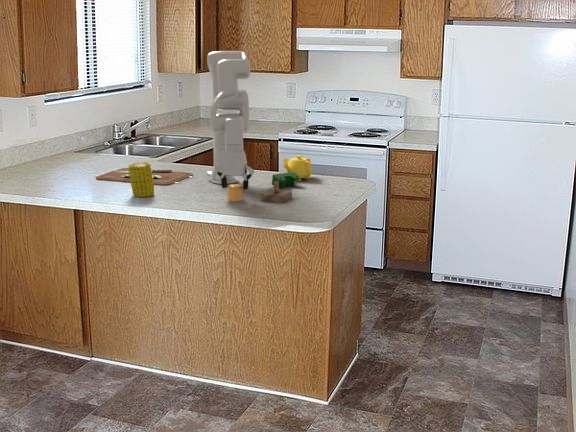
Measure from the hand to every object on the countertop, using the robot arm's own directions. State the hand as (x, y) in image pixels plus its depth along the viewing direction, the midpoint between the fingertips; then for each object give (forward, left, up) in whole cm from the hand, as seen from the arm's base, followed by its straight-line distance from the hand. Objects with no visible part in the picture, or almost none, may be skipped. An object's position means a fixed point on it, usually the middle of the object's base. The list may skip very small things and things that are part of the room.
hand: (235, 188), depth 315 cm
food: (-41, -7, -5) cm, 42 cm away
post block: (+16, +8, -5) cm, 18 cm away
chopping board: (-60, +27, -6) cm, 66 cm away
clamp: (+10, +32, -5) cm, 34 cm away
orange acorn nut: (0, +1, -5) cm, 5 cm away
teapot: (+9, +50, -5) cm, 51 cm away
